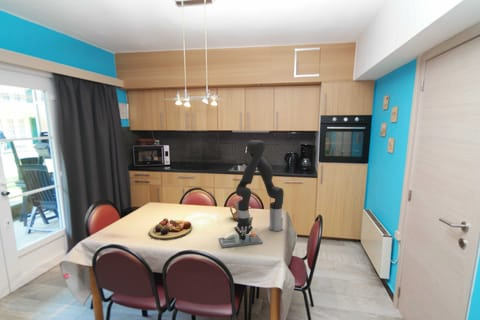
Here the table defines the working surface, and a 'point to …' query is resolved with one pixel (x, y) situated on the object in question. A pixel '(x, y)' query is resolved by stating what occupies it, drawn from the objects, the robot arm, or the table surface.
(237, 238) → the grey slider knob
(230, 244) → the panel
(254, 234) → the orange plunger
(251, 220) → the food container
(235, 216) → the ceramic jug
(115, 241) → the table surface
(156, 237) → the wooden plate with food
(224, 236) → the cream rocker
